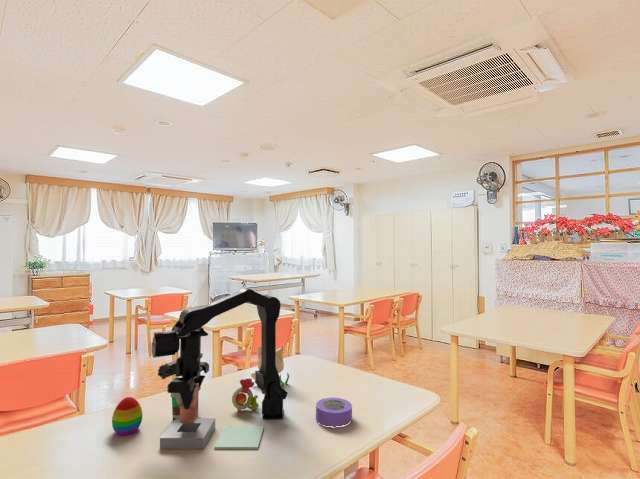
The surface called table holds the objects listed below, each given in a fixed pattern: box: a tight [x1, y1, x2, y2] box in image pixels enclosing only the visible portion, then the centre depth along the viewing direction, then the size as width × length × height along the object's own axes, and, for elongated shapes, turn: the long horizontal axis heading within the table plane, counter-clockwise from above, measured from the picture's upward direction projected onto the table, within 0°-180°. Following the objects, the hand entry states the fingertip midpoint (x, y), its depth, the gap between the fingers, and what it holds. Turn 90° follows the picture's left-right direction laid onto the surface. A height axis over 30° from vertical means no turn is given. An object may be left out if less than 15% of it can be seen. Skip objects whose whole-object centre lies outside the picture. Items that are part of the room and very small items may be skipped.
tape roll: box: [315, 397, 353, 427], centre depth 120 cm, size 12×12×5 cm
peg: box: [180, 383, 200, 423], centre depth 107 cm, size 4×4×10 cm
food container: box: [170, 386, 202, 421], centre depth 122 cm, size 12×6×10 cm, turn 168°
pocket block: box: [159, 417, 216, 450], centre depth 107 cm, size 12×12×3 cm
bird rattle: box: [231, 377, 260, 412], centre depth 126 cm, size 6×11×9 cm
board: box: [213, 425, 265, 450], centre depth 107 cm, size 12×12×1 cm
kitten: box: [250, 346, 290, 387], centre depth 152 cm, size 15×10×15 cm, turn 77°
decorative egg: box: [111, 396, 143, 436], centre depth 111 cm, size 8×8×10 cm
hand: (189, 405), depth 107 cm, fingers closed on peg, 4 cm apart
